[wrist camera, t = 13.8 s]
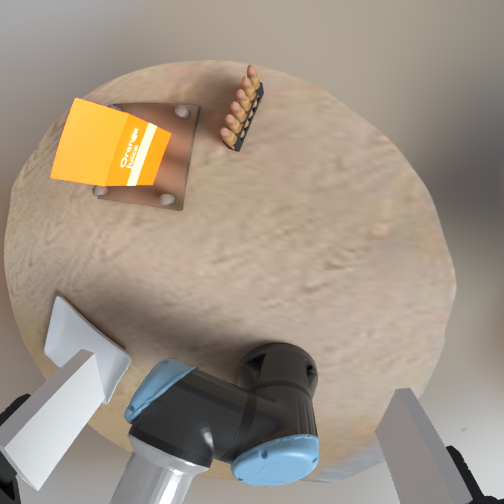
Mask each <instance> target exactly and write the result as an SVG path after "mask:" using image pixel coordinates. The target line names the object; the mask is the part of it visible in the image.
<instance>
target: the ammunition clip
mask: <svg viewBox="0 0 504 504" xmlns="http://www.w3.org/2000/svg"><path fill="white" fill-rule="evenodd" d="M263 94H264V91H263V85H262V83H261V82H260V80H259V76H258V75H257V72H256V69H255V67H254V66H253V65H249V66H248V68H247V77H243V79H242V89H238V90H237V92H236V97H237V102H236V101H233V102H232V103H231V109H232V115H231V114H227V115H226V117H225V120H226V123H227V127H228V128H226V127H222V128H221V129H220V134H221V136H222V139H223V142H224V143H225V145H226V146H227V147H228V148H229V149H232V150H235V151H238V152H239V151H240V148H241V146H242V143H243V141H244V138H245V136H246V134H247V131H248V129H249V126H250V124H251V122H252V119H253V117H254V114H255V112H256V110H257V107H258V105H259V103H260V100H261V98H262V96H263Z"/></svg>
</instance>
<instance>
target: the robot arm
mask: <svg viewBox="0 0 504 504" xmlns="http://www.w3.org/2000/svg"><path fill="white" fill-rule="evenodd" d="M317 382H318V373H317V368H316V365H315V362H314V360H313V359H312V357H311V356H310V355H309V354H308V353H307V352H306V351H304V350H302V349H301V348H299V347H296V346H293V345H290V344H283V343H274V344H267V345H263V346H260V347H258V348H256V349H254V350H252V351H251V352H249V353H248V354H247V355H246V356H245V357H244V358H243V359H242V361H241V363H240V365H239V368H238V372H237V386H236V385H234V384H231V383H229V382H226V381H224V380H222V379H219V378H217V377H215V376H212V375H210V374H208V373H205V372H203V371H201V370H199V369H197V367H195V366H190V365H187V364H185V363H182V362H180V361H178V360H175V359H171V358H169V359H164V360H162V361H160V362H159V363H158V364H157V365H156V366H155V367H154V368H153V369H152V370H151V371H150V373H149V374H148V375H147V376H146V378H145V379H144V380H143V382H142V383H141V385H140V386H139V388H138V389H137V391H136V392H135V394H134V395H133V397H132V399H131V401H130V404H129V405H128V407H127V409H126V411H125V414H124V417H125V419H126V420H127V422H128V423H130V424H132V426H131V428H130V431H129V433H128V437H129V440H130V442H131V444H132V447H133V452H132V454H131V456H130V458H129V461H128V463H127V465H126V467H125V470H124V472H123V474H122V476H121V479H120V481H119V483H118V486H117V488H116V490H115V492H114V495H113V497H112V499H111V502H110V504H182V502H183V500H184V498H185V495H186V493H187V491H188V488H189V486H190V483H191V481H192V478H193V477H194V476H195V475H196V474H199V473H201V472H204V471H207V470H209V468H210V465H211V463H212V460H213V459H217V460H220V461H223V462H226V463H229V464H231V470H232V474H233V476H234V477H235V478H238V480H239V481H241V482H243V483H246V484H250V485H255V486H277V485H283V484H286V483H291V482H294V481H296V480H299V479H301V478H303V477H304V476H306V475H308V474H309V473H310V472H311V471H312V470H313V469H314V468H315V467H316V465H317V463H318V460H319V439H318V435H317V429H316V422H315V416H314V410H313V404H312V399H313V396H314V393H315V390H316V386H317ZM104 399H105V396H104V392H103V388H102V384H101V380H100V375H99V371H98V366H97V361H96V356H95V353H93V352H90V351H87V350H84V349H81V350H80V351H79V352H77V353H76V354H75V355H74V356H73V357H72V358H71V359H70V360H69V361H68V362H67V363H65V364H64V365H63V366H62V367H61V368H60V369H59V370H58V371H57V372H56V373H55V374H54V375H53V376H51V377H50V378H49V379H48V380H47V381H46V382H45V383H44V384H43V385H42V386H41V387H40V388H39V389H38V390H37V391H36V392H35V393H34V394H33V395H32V396H31V395H29V394H25V395H23V396H20V397H18V398H17V399H16V400H15V401H14V402H13V403H12V404H11V405H10V406H9V407H7V408H6V409H5V412H2V413H1V414H0V504H21V501H20V495H19V489H18V482H17V479H16V477H15V476H16V475H17V473H18V475H19V476H20V477H21V478H22V479H23V480H24V481H25V482H26V483H27V484H29V485H30V486H32V487H33V488H35V489H36V490H37V491H39V489H40V487H41V486H42V485H43V483H44V482H45V480H46V479H47V477H48V476H49V475H50V473H51V472H52V470H53V469H54V467H55V466H56V465H57V463H58V462H59V460H60V459H61V458H62V456H63V455H64V453H65V452H66V450H67V449H68V448H69V446H70V445H71V443H72V442H73V441H74V439H75V438H76V437H77V435H78V433H79V432H80V431H81V430H82V428H83V427H84V426H85V424H86V423H87V422H88V420H89V419H90V417H91V416H92V415H93V413H94V412H95V411H96V409H97V408H98V407H99V405H100V404H101V403H102V401H103V400H104ZM375 432H376V434H377V437H378V440H379V442H380V445H381V448H382V451H383V453H384V456H385V459H386V461H387V464H388V467H389V470H390V473H391V476H392V479H393V482H394V485H395V488H396V491H397V494H398V497H399V500H400V503H401V504H504V499H500V500H497V499H496V498H495V497H493V496H484V495H483V494H482V492H481V490H480V488H479V486H478V484H477V482H476V480H475V479H474V477H473V475H472V473H471V471H470V470H468V466H467V464H466V463H464V459H463V457H462V455H461V454H460V452H459V451H458V450H456V449H455V448H454V447H453V446H447V447H445V445H444V444H443V442H442V440H441V438H440V437H439V435H438V433H437V432H436V430H435V428H434V426H433V425H432V423H431V421H430V420H429V418H428V416H427V415H426V413H425V411H424V410H423V408H422V406H421V405H420V403H419V401H418V400H417V398H416V397H415V395H414V393H413V392H412V390H411V389H410V388H405V389H396V390H395V393H394V395H393V397H392V399H391V401H390V403H389V405H388V408H387V410H386V412H385V414H384V416H383V418H382V419H381V421H380V423H379V425H378V427H377V429H376V431H375Z"/></svg>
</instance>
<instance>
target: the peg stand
mask: <svg viewBox="0 0 504 504" xmlns="http://www.w3.org/2000/svg"><path fill="white" fill-rule="evenodd" d="M108 108H111V109H114V110H117V111H120V112H125V113H128V114H130V115H133V116H135V117H137V118H139V119H141V120H144V121H146V122H148V123H151V124H153V125H155V126H157V127H159V128H161V129H163V130H165V131H167V132H169V133H171V136H170V138H169V141H168V143H167V146H166V149H165V151H164V154H163V157H162V159H161V162H160V165H159V168H158V170H157V173H156V176H155V179H154V182H153V185H136V186H126V185H123V186H95V187H94V188H93V194H94V195H98V199H104V200H111V201H118V202H125V203H132V204H139V205H145V206H152V207H158V208H165V209H171V210H177V211H181V210H183V204H184V197H185V190H186V184H187V177H188V171H189V165H190V159H191V154H192V148H193V143H194V137H195V132H196V127H197V122H198V117H199V112H200V107H199V106H198V105H187V104H159V103H134V104H113V105H109V106H108Z"/></svg>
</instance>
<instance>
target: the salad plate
mask: <svg viewBox="0 0 504 504" xmlns="http://www.w3.org/2000/svg"><path fill="white" fill-rule="evenodd" d="M81 349H84V350H87V351H90V352H93V353H95V356H96V361H97V366H98V371H99V375H100V380H101V384H102V388H103V392H104V396H105V399H104V400H103V401H102V403H103V404H108V403H109V401H110V399H111V397H112V394H113V392H114V390H115V388H116V386H117V384H118V382H119V381H120V379H121V378H122V376H123V374H124V373H125V371H126V370H127V368H128V367H129V365H130V363H131V356H130V355H129V354H128V353H127V352H126V351H125V350H124V349H123V348H121V347H120V346H118V345H117V344H116V343H114V342H113V341H112V340H110V339H109V338H108V337H106V336H105V335H104V334H103V333H102V332H100V331H99V330H98V329H97V328H96V327H94V326H93V325H92V324H91V323H90V322H89V321H88V320H86V319H85V318H84V317H83V316H82V315H81V314H80V313H79V312H78V311H77V310H76V309H75V308H74V307H73V306H72V305H71V304H70V303H69V302H68V301H66V300H65V299H64V298H62V297H60V296H57V297H56V299H55V302H54V305H53V309H52V314H51V318H50V323H49V328H48V333H47V337H46V342H45V347H44V353H45V354H46V356H47V357H48V358H49V359H50V360H51V361H53V362H54V363H55V364H56V365H57V366H58V367H59V368H61V367H62V366H63V365H64V364H65V363H67V362H68V361H69V360H70V359H71V358H72V357H73V356H74V355H75V354H76V353H77V352H79V351H80V350H81Z"/></svg>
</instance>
